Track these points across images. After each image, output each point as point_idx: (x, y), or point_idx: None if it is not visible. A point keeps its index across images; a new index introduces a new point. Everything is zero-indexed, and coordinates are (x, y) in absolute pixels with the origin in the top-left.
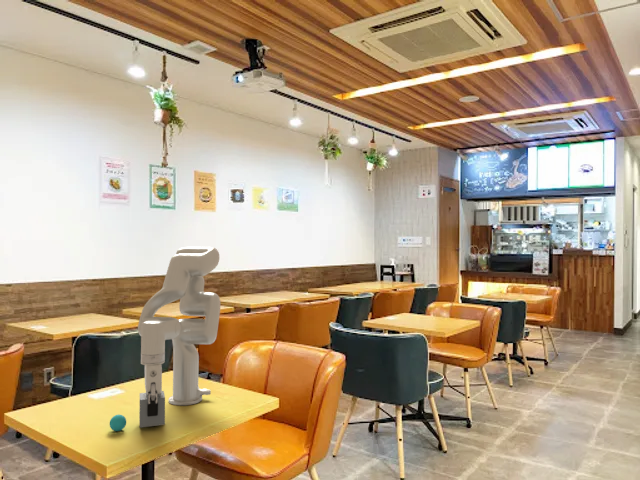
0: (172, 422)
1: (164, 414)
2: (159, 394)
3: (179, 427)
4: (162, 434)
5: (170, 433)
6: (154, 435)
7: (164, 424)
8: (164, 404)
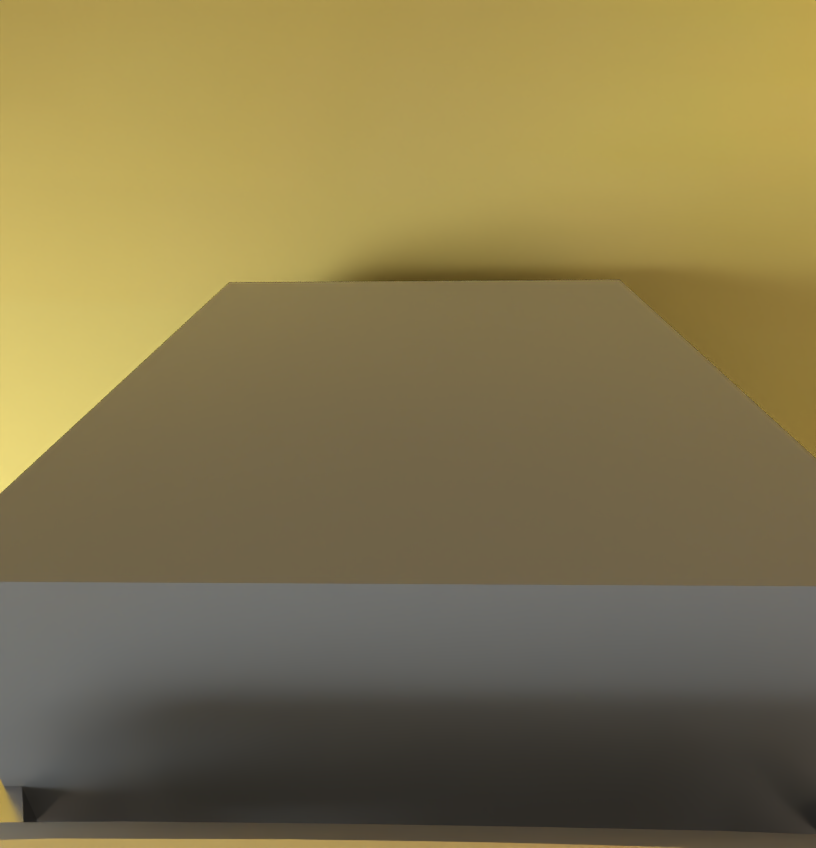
0: (315, 121)
1: (674, 341)
2: (412, 725)
3: (606, 8)
4: (779, 300)
5: (806, 185)
6: (756, 399)
7: (619, 285)
8: (787, 448)
